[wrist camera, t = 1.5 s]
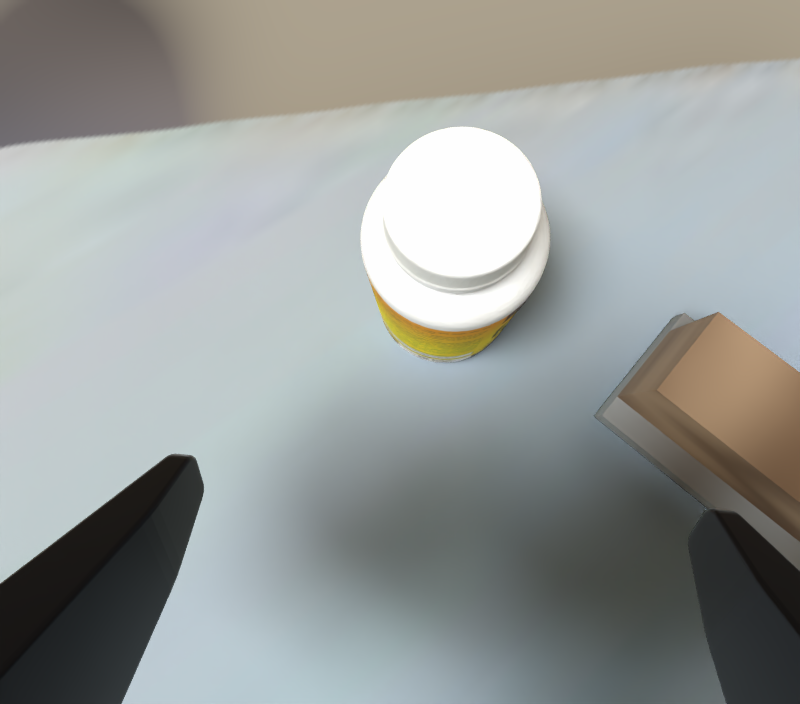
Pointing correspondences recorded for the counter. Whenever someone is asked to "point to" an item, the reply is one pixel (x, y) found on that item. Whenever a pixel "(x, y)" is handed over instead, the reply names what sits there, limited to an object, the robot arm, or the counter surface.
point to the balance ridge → (718, 422)
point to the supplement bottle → (454, 242)
